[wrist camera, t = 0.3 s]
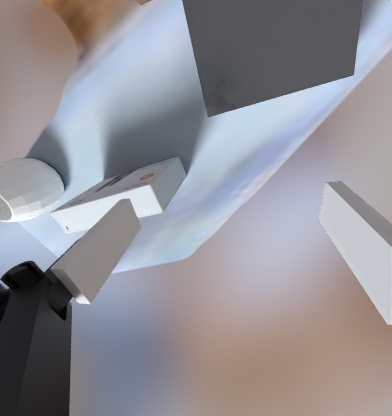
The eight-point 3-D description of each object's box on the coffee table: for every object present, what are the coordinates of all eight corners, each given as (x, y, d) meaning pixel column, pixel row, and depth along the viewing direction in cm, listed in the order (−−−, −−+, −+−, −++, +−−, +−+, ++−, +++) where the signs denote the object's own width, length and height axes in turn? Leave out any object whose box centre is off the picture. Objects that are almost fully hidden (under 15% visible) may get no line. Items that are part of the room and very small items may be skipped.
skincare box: (178, 152, 39) (150, 184, 26) (187, 175, 41) (166, 215, 28) (101, 177, 46) (47, 213, 32) (113, 196, 48) (67, 237, 35)
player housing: (187, -11, 26) (172, -46, 20) (334, -85, 21) (382, -166, 15) (212, 112, 34) (207, 117, 27) (325, 78, 29) (353, 75, 22)
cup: (57, 208, 53) (11, 239, 42) (15, 171, 49) (-50, 196, 38) (81, 185, 48) (34, 214, 36) (35, 141, 43) (-34, 159, 32)
